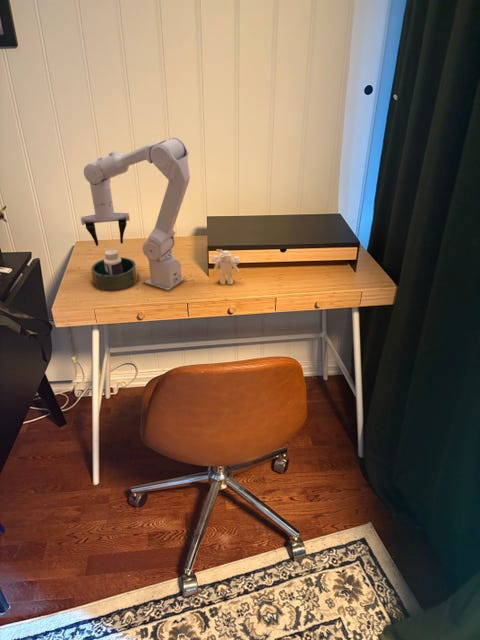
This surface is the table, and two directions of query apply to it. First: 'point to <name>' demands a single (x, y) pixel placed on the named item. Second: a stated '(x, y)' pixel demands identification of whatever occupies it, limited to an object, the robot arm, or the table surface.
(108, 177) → the robot arm
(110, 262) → the pill bottle
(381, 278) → the table surface
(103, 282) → the pot
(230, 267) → the blocky character figurine
